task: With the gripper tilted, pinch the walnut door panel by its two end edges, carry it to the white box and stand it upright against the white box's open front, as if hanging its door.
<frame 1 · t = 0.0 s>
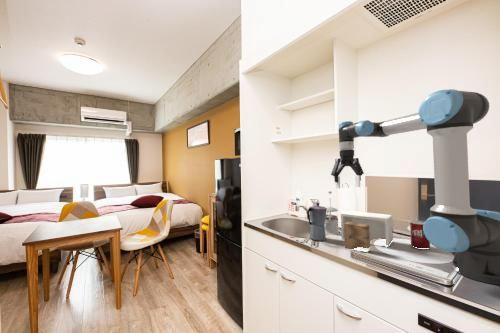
hand: (348, 187, 120), 28 cm above the countertop, tool pointing down, fingers open, 13 cm apart
door panel: (357, 249, 103), on the countertop
white box: (366, 240, 114), on the countertop
french press: (331, 232, 131), on the countertop
soda can: (420, 248, 102), on the countertop
moka pot: (317, 239, 120), on the countertop
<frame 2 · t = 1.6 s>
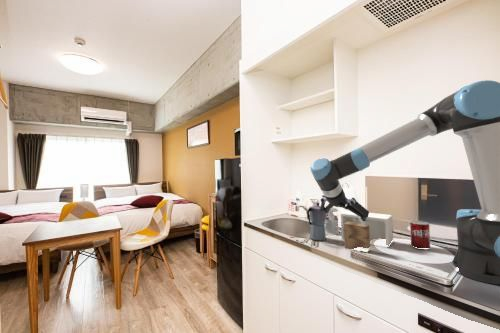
hand: (348, 221, 97), 15 cm above the countertop, tool tilted 45°, fingers open, 13 cm apart
nothing on the countertop moved.
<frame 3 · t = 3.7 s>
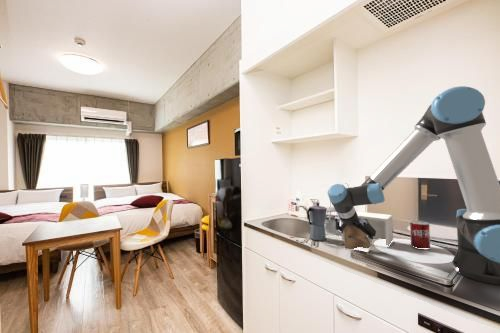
hand: (358, 238, 105), 4 cm above the countertop, tool tilted 45°, fingers closed on door panel, 10 cm apart
door panel: (357, 249, 103), on the countertop, touching gripper
everything else where it was.
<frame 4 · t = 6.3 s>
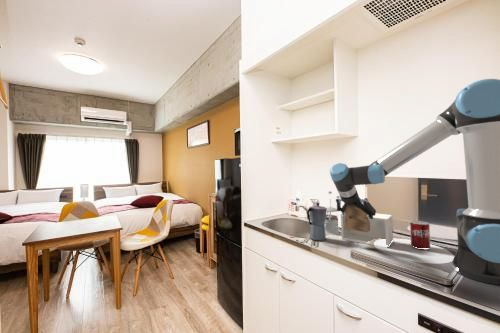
hand: (359, 219, 109), 13 cm above the countertop, tool tilted 45°, fingers closed on door panel, 10 cm apart
door panel: (357, 229, 106), point 8 cm above the countertop, touching gripper
everything else where it was.
when the fingers open (5 cm above the countertop, at t = 8.6 s): door panel drops 1 cm, on the countertop.
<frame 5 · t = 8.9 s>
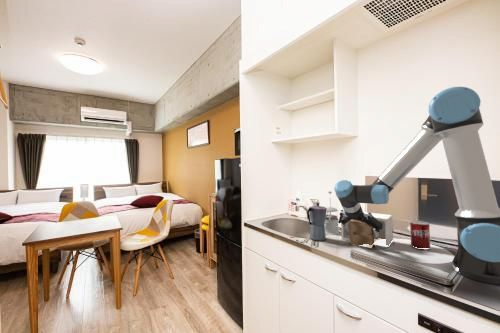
hand: (362, 232, 110), 6 cm above the countertop, tool tilted 45°, fingers open, 13 cm apart
door panel: (361, 245, 108), on the countertop
everything else where it was.
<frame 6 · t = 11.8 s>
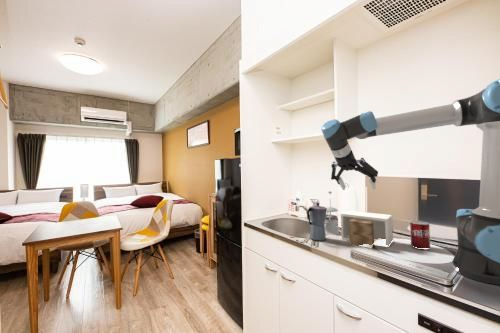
hand: (358, 187, 101), 30 cm above the countertop, tool tilted 40°, fingers open, 13 cm apart
nothing on the countertop moved.
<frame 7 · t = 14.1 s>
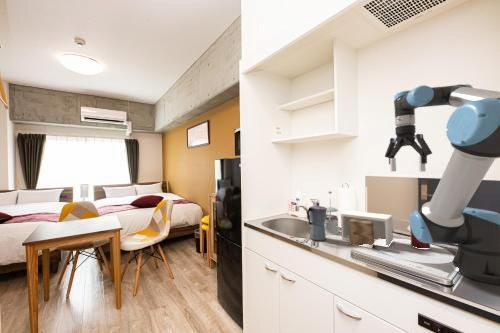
hand: (406, 171, 99), 37 cm above the countertop, tool pointing down, fingers open, 13 cm apart
nothing on the countertop moved.
at the end: door panel 0.1 cm from the target spot on the countertop beside the white box, on the countertop; door panel tilted 0°; the gripper is holding nothing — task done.
